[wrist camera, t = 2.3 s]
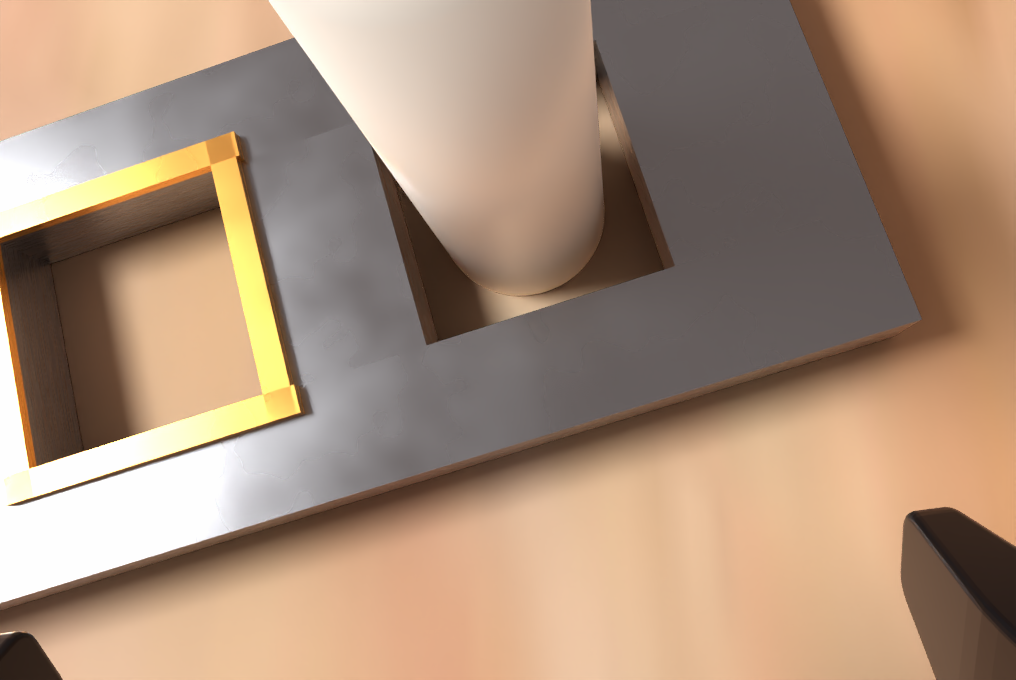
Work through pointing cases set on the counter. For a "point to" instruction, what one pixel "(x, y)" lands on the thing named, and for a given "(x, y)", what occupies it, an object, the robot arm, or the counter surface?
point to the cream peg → (475, 122)
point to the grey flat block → (418, 287)
